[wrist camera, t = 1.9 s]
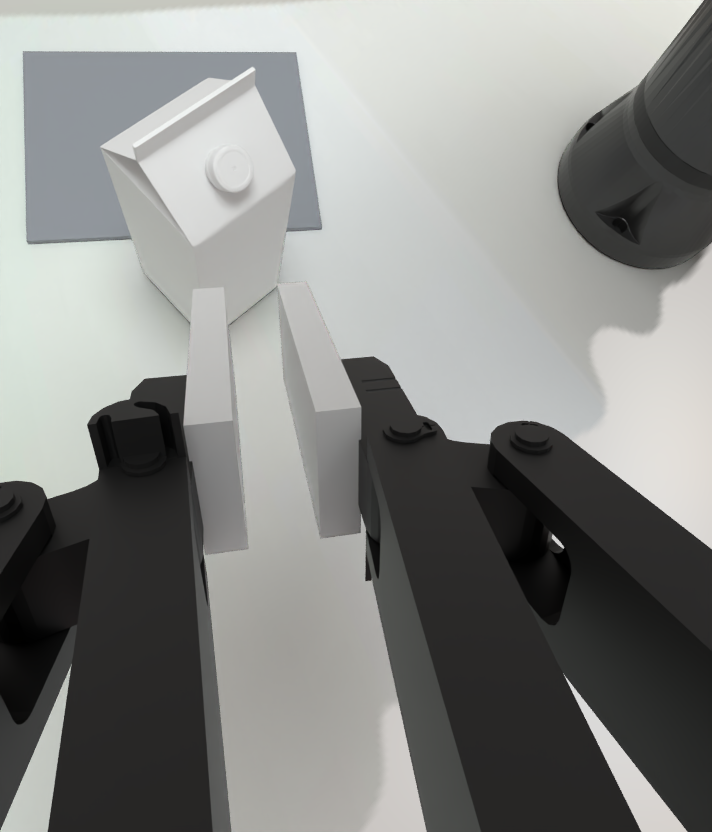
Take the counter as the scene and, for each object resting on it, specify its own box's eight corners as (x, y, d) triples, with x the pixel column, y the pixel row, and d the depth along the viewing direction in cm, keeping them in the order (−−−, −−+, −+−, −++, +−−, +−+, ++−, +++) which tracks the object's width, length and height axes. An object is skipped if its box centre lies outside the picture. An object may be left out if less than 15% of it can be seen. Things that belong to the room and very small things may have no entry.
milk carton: (143, 273, 45) (78, 88, 26) (216, 220, 47) (203, 13, 28) (207, 342, 45) (187, 205, 26) (278, 286, 46) (305, 122, 28)
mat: (295, 56, 52) (296, 52, 52) (321, 229, 48) (321, 226, 48) (24, 55, 48) (22, 51, 48) (28, 243, 44) (26, 241, 44)
